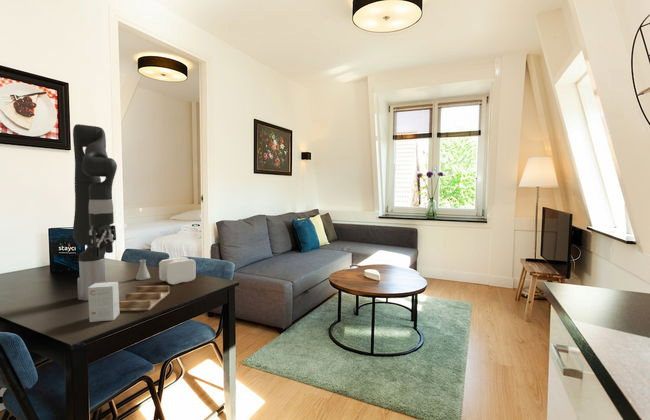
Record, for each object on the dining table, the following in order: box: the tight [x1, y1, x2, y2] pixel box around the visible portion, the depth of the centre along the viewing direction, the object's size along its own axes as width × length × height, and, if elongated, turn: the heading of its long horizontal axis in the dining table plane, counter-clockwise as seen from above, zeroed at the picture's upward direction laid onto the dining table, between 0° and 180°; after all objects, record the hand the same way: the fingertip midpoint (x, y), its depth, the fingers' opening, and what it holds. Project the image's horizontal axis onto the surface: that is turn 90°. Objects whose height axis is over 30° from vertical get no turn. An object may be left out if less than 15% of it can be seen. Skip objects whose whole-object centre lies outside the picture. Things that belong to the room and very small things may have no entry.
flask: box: [135, 259, 151, 281], centre depth 177 cm, size 7×7×10 cm
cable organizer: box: [158, 256, 197, 285], centre depth 172 cm, size 15×11×12 cm
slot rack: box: [119, 285, 171, 312], centre depth 142 cm, size 14×22×4 cm, turn 5°
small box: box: [88, 281, 121, 323], centre depth 124 cm, size 8×6×13 cm
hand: (102, 255), depth 122 cm, fingers open, 8 cm apart
